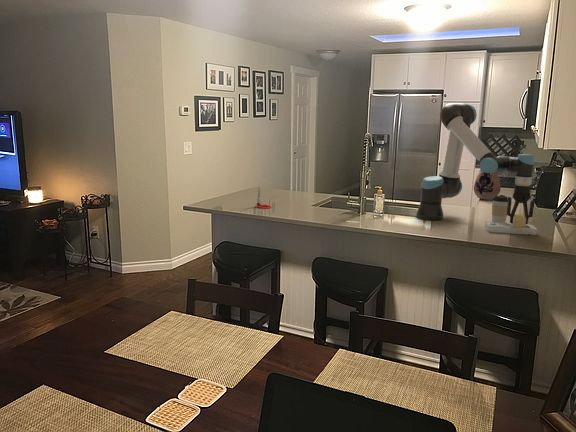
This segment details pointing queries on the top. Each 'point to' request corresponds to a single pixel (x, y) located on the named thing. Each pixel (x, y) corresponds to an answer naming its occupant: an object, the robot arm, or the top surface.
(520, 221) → the yellow rectangular block
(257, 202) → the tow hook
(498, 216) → the coffee cup
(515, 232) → the grey tray
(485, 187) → the ceramic pitcher
